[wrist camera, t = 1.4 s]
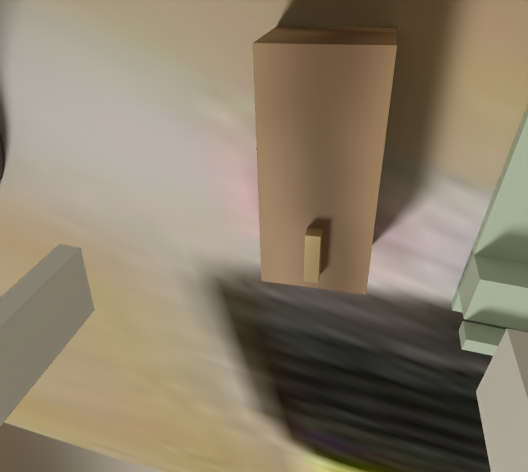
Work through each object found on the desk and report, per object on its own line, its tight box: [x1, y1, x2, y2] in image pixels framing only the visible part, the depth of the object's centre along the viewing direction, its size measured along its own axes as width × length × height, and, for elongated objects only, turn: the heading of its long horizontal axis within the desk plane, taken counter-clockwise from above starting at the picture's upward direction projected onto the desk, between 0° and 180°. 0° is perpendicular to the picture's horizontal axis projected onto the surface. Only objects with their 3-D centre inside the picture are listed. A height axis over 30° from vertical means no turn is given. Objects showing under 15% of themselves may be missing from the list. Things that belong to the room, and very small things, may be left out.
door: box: [253, 27, 397, 294], centre depth 24 cm, size 6×13×6 cm, turn 2°
